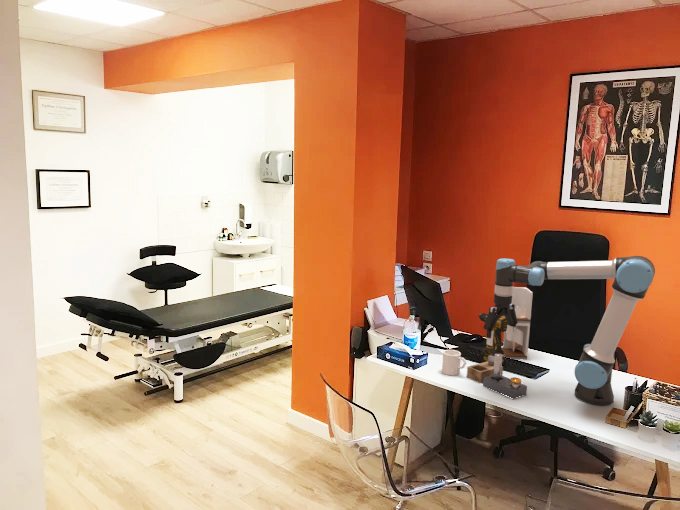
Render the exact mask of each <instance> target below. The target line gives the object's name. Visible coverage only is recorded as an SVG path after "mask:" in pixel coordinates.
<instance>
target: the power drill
mask: <svg viewBox="0 0 680 510" xmlns="http://www.w3.org/2000/svg"><path fill="white" fill-rule="evenodd" d="M487 316H488V313H486V312H483V313H480V314H478V317H479V320H480V321H481V322H484V323H485V322H486V319H487ZM507 325H509V324H508V322H507V320H506V318H505V317H503V316H501V317H500V318H499V319H498V321H497V323H496V324H495V326H494V328H493V330H492V331H494V333H493V346H490V345H487V344H486V346H485V348H484V349H483V350H481V352H480V354H479V361H480V360H481V361H483V362H487V361H488V356H490V355H491V356H495V353H500V354H502V364H505V365H506V362H507V359H506V358H505V357H504V356H503V355H504V351H503V350H502V349H501V348H502V345H503V343H502V333H504V331H507ZM490 328H491V327H490ZM481 361H480V362H481ZM483 362H482V363H483Z"/></svg>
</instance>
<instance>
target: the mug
mask: <svg viewBox="0 0 680 510" xmlns="http://www.w3.org/2000/svg"><path fill="white" fill-rule="evenodd" d="M461 355H462V353H461V352H460V351H459V350H455V349H445V350H443V353H442V366H441V367H442V369H441V370H442V371H441V373H442V374H444V375H447V376H459V375H460V372H461V369H464V368H465V367H466V365H467V362H466V359H465V358H464V357H462V356H461ZM461 361H462V362H463V364H462V366H461Z"/></svg>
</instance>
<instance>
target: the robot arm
mask: <svg viewBox="0 0 680 510" xmlns="http://www.w3.org/2000/svg"><path fill="white" fill-rule="evenodd" d="M495 266H496V267H495V279H494V294H493V303H494V306H493V307H492V306H489V309H488V313H487V314H488V316H487V319H486V322H484V325H483V330H485V331H486V335H485V336H486V346H487V345H490V346H493V333H494V331H492V330H493V328H494V326H495V324H496V323H497V321H498V319H499V318H500V317H503V315H504V316H505V318H506V320H507V322H508V324H509V325H507V335H506V340H509V341H512V338H513V329H514V326H515V327H516V324H517V323H518V322H517V317H516V313H515V305H514V304H511V303H512V296H511V295H512V294H513V287H514V284H522V285H529V286H533V287H535V286H536V287H537V286H539V287H541V286H542V285H543V284H544V282H545V281H544V280H604V279H605V280H609V279H610V280H611V279H612V280H613V282H612V284H611V289H612V292H613V293H612V296H611V298H610V300H609V302H608V304H607V306H606V309H605V311H604V314H603V316H602V319H601V321H600V324H599V325H598V327H597V330H596V332H595V334H594V336H593V339H592V341H591V343H586V344H584V345H583V349H582V351H583V352H582V353H581V356H580V358H579V361H578V363H577V364H576V365H575V367H574V377H575V379H576V380H577V384H576V386H575V389H574V394H573V395H574V397H575V398H576V399H578V400H579V401H581V402H583V403H585V404H586V403H587V404H588V405H589V404H590V405H594V406H596V405H597V406H610V405H612V404H613V403H614V399H615V395H614V391H613V387H612V376H613V375H612V374H613V367H614V365H615V362H616V360H615V352H616V349H617V347H618V344H619V343H620V341H621V338H622V336H623V334H624V332H625V330H626V328H627V325H628V323H629V321H630V318H631V317H632V315H633V312H634V310H635V308H636V306H637V303H638V302H639V301H642V300H644V299H645V296H646V295H647V292H648V290H649V288H650V286H651V285H652V283H653V280H654V277H655V275H656V274H655V273H656V268H655V265H654V263H653V262H652V260H650V259H649V258H647V257H645V256H642V255H633V256H624V257H623V256H622V257H621V256H620V257H618V256H617V257H614V259H612V260H611V259H609V260H608V259H607V260H602V259H601V260H578V261H576V260H575V261H573V260H571V261H540V260H537V261H533V262H531V263H530V264H528V265H518V264H516V261H515V259H513V258H505V257H504V258H499V259H497V260H496V265H495ZM490 327H491V328H490Z"/></svg>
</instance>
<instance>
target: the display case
mask: <svg viewBox="0 0 680 510" xmlns="http://www.w3.org/2000/svg"><path fill="white" fill-rule="evenodd" d="M533 293H534V292H533V291H531V290H530V289H529V288H528V287H523V286H522V287H521V286H519V287H518V286H513V294H512V295H511V296H512V303H511V304H514V305H515V313H516V317H517V322H518V323H517V324H516V327H515V326H514V329H513V338H512V341H509V340H506V335H507V331H504V332H503V343H502V347H501V349H502V350H503V351H504V355H503V356H504V357H506V358H511V359H510V360H520V359H523V360H526V361H527V360H528V353H529V341H530V331H531V330H530V328H531V318H532V305H533V296H534V295H533ZM502 317H505V316H504V315H503V316H502ZM506 358H505V359H506Z"/></svg>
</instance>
